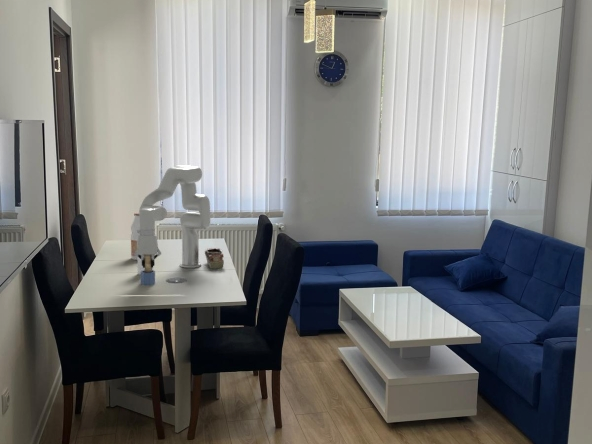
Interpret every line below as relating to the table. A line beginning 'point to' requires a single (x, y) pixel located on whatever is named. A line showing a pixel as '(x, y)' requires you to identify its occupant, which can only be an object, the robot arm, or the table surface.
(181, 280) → the coaster
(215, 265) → the decorative box
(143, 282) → the cup
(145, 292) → the table surface
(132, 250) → the fruit juice
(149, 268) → the wooden pestle
